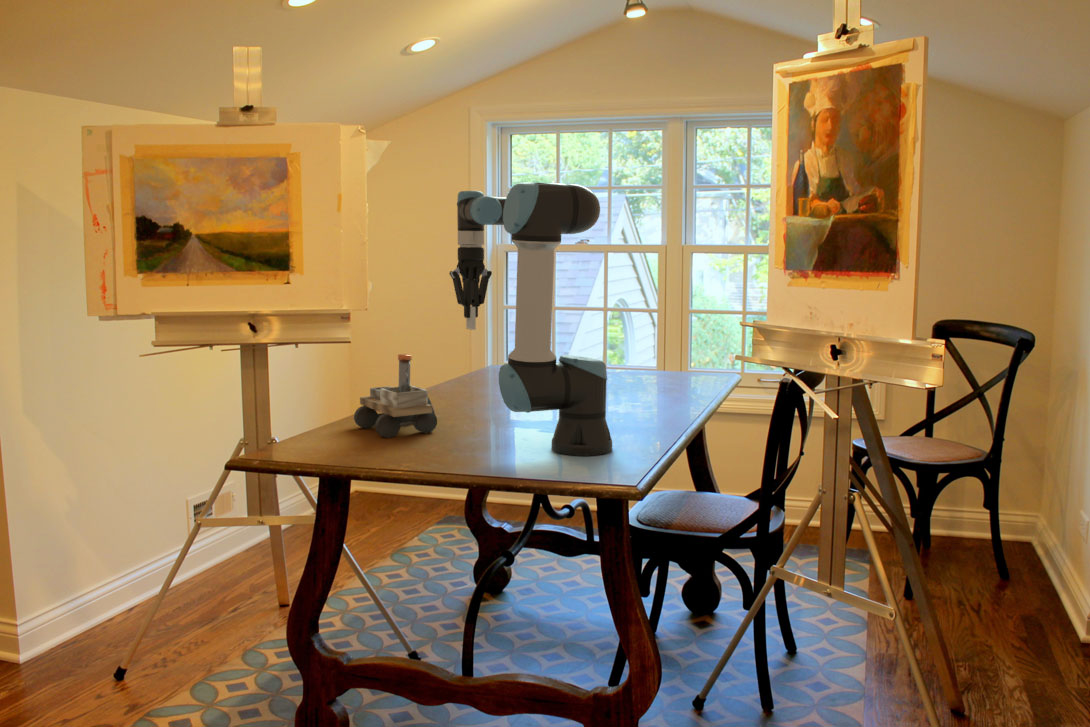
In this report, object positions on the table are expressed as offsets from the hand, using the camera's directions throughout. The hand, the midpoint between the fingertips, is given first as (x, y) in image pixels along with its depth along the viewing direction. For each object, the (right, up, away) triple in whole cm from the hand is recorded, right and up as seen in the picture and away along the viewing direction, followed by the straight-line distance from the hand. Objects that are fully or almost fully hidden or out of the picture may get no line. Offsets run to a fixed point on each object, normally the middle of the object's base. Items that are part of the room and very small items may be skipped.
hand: (470, 329), depth 252 cm
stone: (-16, -26, +3) cm, 31 cm away
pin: (-16, -21, -18) cm, 32 cm away
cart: (-20, -28, -12) cm, 36 cm away
